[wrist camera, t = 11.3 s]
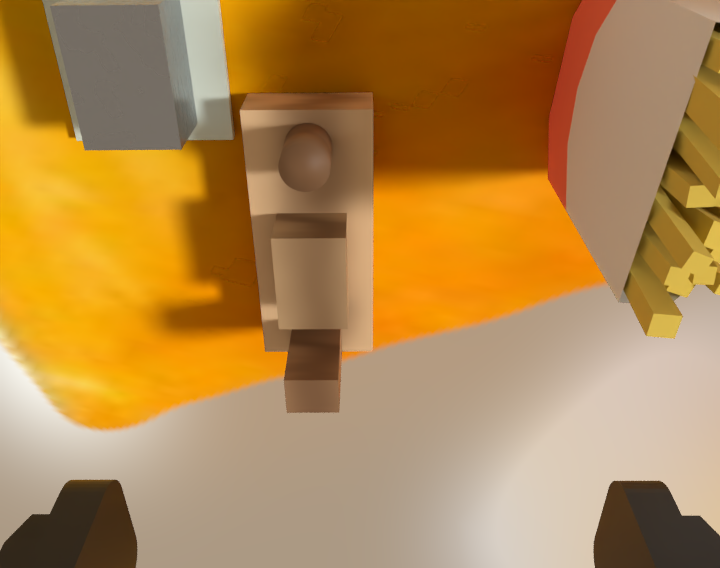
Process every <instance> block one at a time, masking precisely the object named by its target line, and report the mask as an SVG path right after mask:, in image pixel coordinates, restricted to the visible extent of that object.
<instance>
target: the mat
mask: <svg viewBox="0 0 720 568" xmlns="http://www.w3.org/2000/svg"><path fill="white" fill-rule="evenodd" d="M42 1H43V5H44V9H45V13H46V17H47V21H48V25H49V29H50V34H51V38H52V42H53V46H54V50H55V54H56V58H57V62H58V66H59V70H60V74H61V78H62V82H63V87H64V91H65V95H66V99H67V103H68V107H69V111H70V115H71V119H72V123H73V127H74V131H75V135H76V140H77V141H83V140H82V136H81V132H80V128H79V124H78V120H77V115H76V111H75V107H74V103H73V99H72V95H71V91H70V87H69V83H68V78H67V74H66V70H65V66H64V62H63V58H62V54H61V50H60V45H59V41H58V37H57V33H56V29H55V25H54V21H53V17H52V12H51V8H50V5H52V4H54V3H56V2H58V1H61V0H42ZM180 4H181V11H182V18H183V25H184V32H185V39H186V46H187V53H188V60H189V67H190V73H191V80H192V87H193V94H194V101H195V108H196V115H197V122H198V124H197V125H196V127H195V128H194V130H193V132H192V133H191V135H190V137H189V138H188V140H233V139H234V137H235V132H234V123H233V114H232V105H231V97H230V88H229V79H228V70H227V61H226V52H225V43H224V34H223V25H222V17H221V8H220V0H180Z"/></svg>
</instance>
